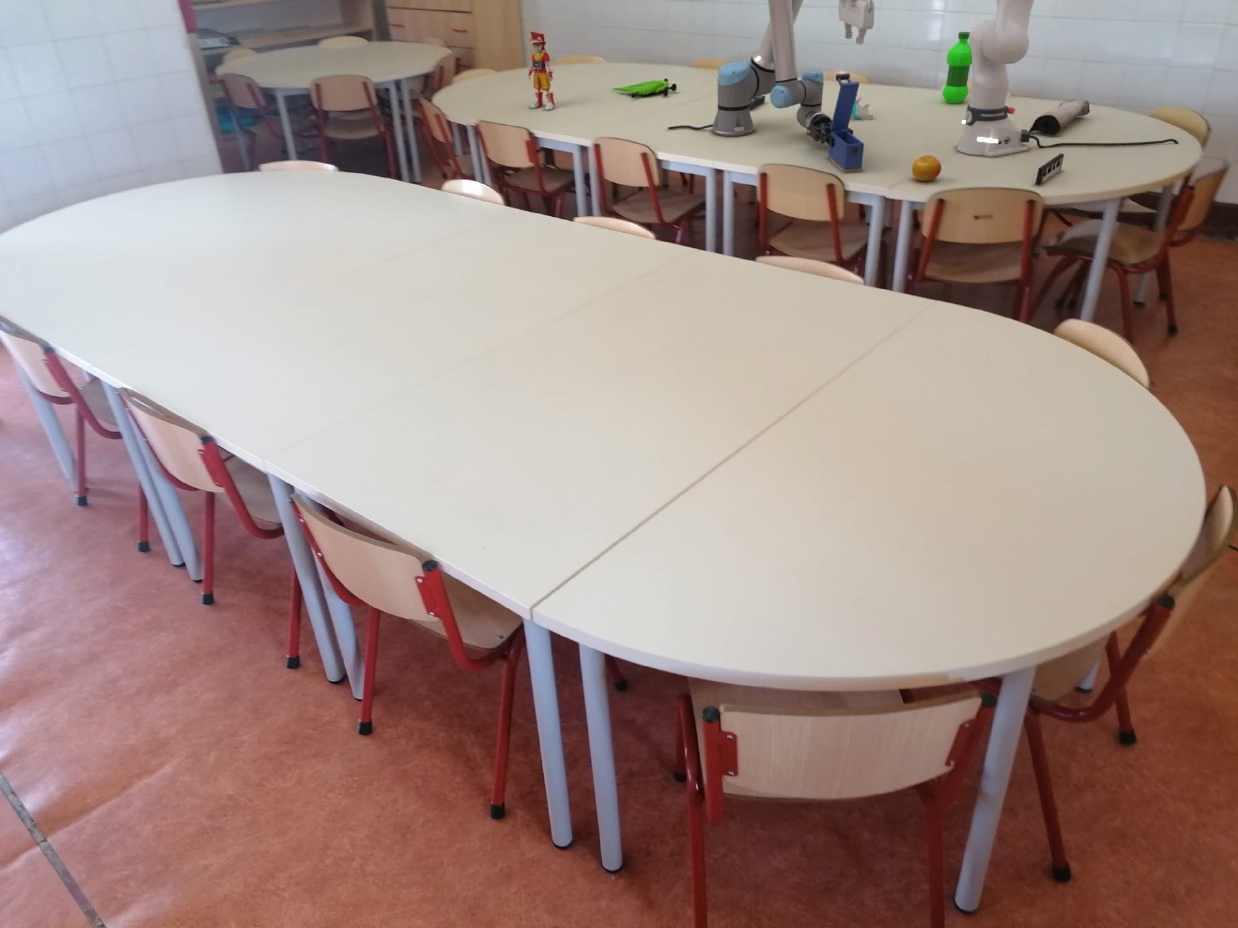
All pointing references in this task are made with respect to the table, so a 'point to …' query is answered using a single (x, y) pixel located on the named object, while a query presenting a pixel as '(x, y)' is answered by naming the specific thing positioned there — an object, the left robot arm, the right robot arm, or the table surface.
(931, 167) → the fruit
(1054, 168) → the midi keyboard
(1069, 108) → the rolled mat
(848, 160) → the chest
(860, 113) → the anatomical model
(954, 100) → the plastic bottle
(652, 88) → the toy
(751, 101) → the disk drive
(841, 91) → the lid
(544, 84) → the toy
